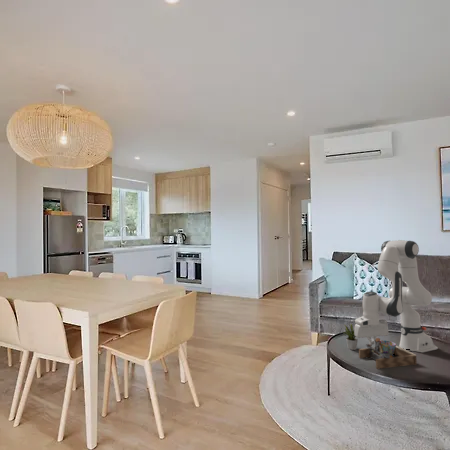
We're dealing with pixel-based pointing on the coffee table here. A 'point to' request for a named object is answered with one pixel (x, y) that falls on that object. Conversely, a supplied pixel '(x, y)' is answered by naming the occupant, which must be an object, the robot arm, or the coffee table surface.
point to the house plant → (351, 338)
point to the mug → (387, 347)
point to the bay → (392, 358)
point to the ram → (377, 350)
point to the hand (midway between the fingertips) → (371, 344)
